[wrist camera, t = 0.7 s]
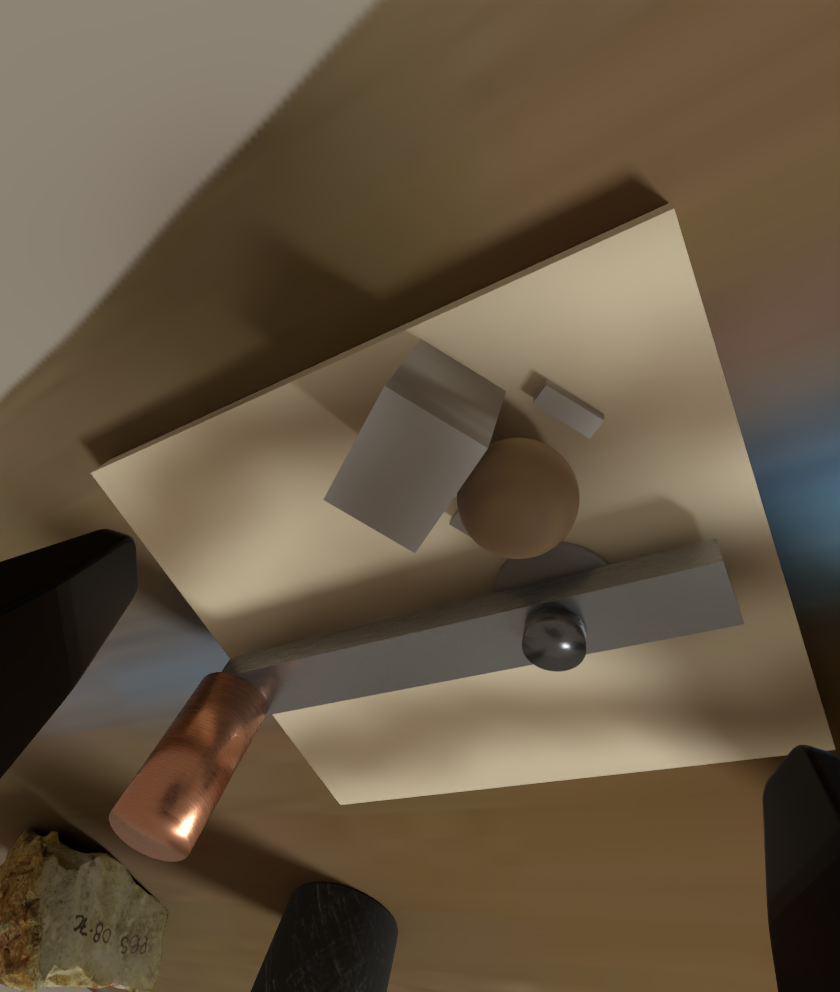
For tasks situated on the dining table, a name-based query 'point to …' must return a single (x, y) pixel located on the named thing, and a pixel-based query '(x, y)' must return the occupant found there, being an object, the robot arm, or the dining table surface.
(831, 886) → the robot arm
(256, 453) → the base
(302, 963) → the travel mug
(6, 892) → the rock
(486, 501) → the walnut
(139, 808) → the lever
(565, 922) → the dining table surface
